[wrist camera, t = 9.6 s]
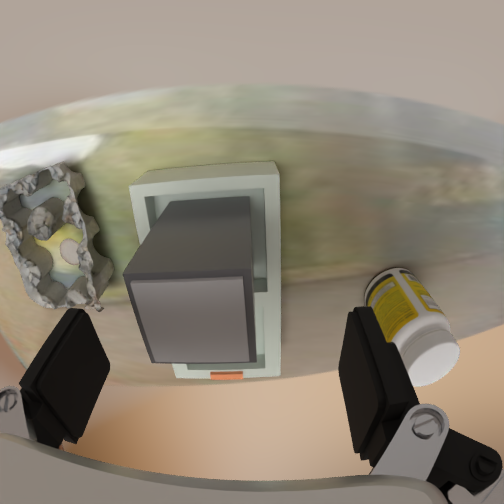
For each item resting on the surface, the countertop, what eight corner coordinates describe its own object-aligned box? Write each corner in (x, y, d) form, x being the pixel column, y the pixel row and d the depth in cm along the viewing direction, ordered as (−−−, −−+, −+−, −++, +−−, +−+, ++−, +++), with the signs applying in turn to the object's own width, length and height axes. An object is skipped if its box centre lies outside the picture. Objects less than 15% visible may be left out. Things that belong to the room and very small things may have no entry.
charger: (169, 201, 18) (120, 276, 11) (249, 196, 18) (251, 271, 10) (181, 270, 20) (150, 366, 13) (253, 267, 20) (257, 365, 13)
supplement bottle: (362, 319, 25) (394, 398, 17) (363, 271, 23) (406, 350, 15) (412, 308, 25) (454, 379, 17) (418, 261, 22) (473, 329, 15)
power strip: (147, 170, 19) (126, 187, 16) (273, 161, 19) (280, 175, 16) (182, 347, 26) (176, 380, 22) (277, 344, 26) (280, 378, 22)
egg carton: (124, 285, 23) (107, 318, 20) (53, 291, 24) (32, 320, 20) (86, 152, 18) (54, 166, 15) (12, 176, 19) (-20, 193, 15)
